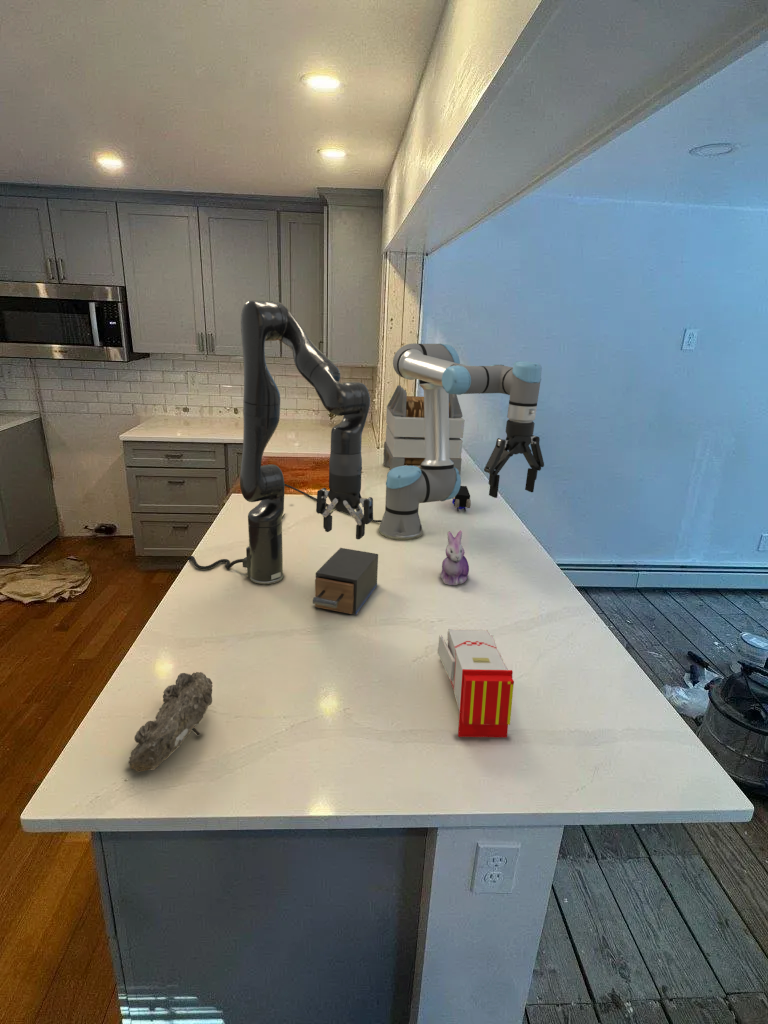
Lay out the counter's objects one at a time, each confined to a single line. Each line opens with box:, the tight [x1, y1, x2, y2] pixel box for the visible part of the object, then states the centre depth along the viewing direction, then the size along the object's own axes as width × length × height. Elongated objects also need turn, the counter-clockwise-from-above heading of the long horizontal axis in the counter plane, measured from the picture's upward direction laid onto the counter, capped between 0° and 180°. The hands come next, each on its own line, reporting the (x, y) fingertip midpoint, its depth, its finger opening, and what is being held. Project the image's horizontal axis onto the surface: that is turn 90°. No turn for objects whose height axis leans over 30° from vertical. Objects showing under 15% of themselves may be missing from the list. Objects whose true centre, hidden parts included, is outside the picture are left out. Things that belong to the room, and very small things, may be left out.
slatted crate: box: [383, 384, 465, 476], centre depth 268 cm, size 34×33×41 cm
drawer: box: [312, 577, 354, 615], centre depth 149 cm, size 22×10×8 cm, turn 163°
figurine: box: [440, 530, 470, 586], centre depth 165 cm, size 9×10×15 cm
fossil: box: [128, 671, 213, 773], centre depth 102 cm, size 22×10×15 cm
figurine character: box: [451, 485, 472, 513], centre depth 228 cm, size 7×8×15 cm
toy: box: [437, 628, 515, 738], centre depth 117 cm, size 12×13×30 cm
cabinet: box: [315, 547, 379, 616], centre depth 154 cm, size 18×11×10 cm, turn 163°
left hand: (343, 534), depth 137 cm, fingers open, 8 cm apart
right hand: (511, 493), depth 163 cm, fingers open, 13 cm apart
